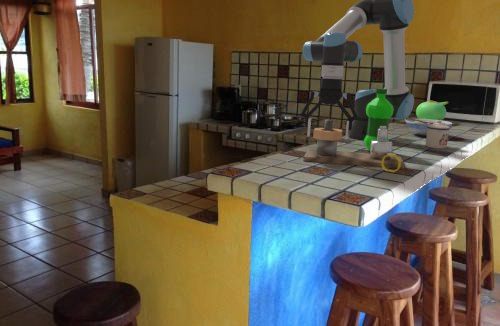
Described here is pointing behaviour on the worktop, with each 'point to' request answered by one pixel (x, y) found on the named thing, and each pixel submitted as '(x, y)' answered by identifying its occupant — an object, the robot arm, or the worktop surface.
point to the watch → (391, 156)
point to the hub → (381, 145)
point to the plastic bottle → (377, 116)
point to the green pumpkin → (431, 110)
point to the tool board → (344, 154)
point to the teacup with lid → (437, 135)
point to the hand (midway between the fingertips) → (327, 137)
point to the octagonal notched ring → (327, 134)
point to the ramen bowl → (422, 125)
